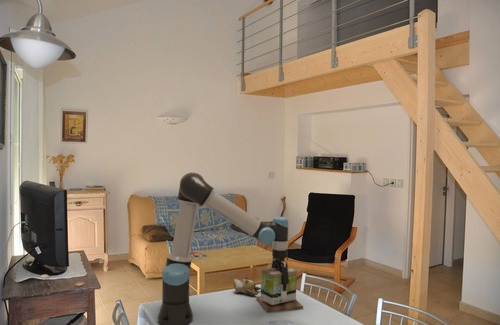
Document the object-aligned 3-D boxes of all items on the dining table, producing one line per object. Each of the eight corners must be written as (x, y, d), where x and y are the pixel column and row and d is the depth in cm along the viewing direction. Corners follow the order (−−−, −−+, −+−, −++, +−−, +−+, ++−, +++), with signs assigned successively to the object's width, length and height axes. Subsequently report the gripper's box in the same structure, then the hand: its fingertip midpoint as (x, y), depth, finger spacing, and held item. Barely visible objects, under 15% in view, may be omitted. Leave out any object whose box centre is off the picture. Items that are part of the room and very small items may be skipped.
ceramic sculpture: (236, 272, 219) (263, 276, 215) (235, 288, 219) (262, 292, 216) (230, 278, 209) (258, 283, 205) (229, 295, 209) (257, 299, 205)
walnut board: (267, 312, 186) (267, 309, 186) (256, 299, 203) (256, 296, 203) (303, 309, 192) (303, 306, 192) (289, 296, 208) (289, 293, 208)
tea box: (272, 306, 188) (273, 274, 188) (259, 299, 196) (260, 269, 196) (296, 299, 197) (297, 270, 197) (283, 293, 205) (284, 265, 205)
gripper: (296, 254, 186) (295, 300, 187) (278, 243, 209) (277, 284, 209) (281, 255, 184) (280, 302, 185) (265, 243, 207) (264, 285, 207)
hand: (279, 293), depth 197 cm, fingers closed on tea box, 11 cm apart
